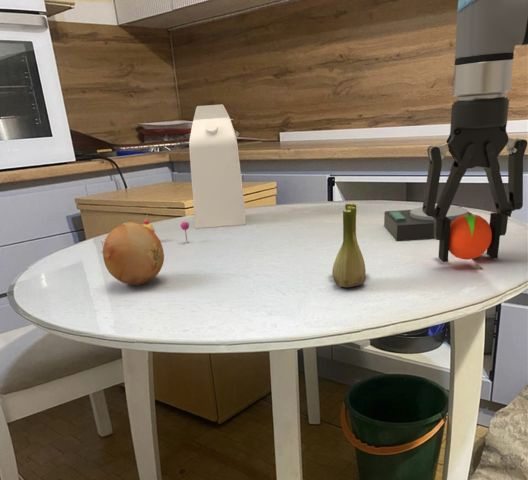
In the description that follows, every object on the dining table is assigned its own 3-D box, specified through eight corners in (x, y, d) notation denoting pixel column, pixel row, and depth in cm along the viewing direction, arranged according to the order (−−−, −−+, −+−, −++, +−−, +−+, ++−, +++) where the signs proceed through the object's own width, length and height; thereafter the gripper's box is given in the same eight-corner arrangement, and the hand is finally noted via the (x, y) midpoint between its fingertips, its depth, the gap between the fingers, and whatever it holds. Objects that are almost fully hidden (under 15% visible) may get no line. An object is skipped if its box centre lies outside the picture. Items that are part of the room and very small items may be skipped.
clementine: (494, 266, 80) (499, 218, 77) (445, 267, 82) (448, 220, 79) (486, 252, 87) (490, 208, 84) (441, 253, 89) (444, 210, 86)
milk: (245, 215, 136) (236, 103, 125) (245, 224, 126) (236, 103, 115) (199, 218, 136) (185, 107, 125) (195, 228, 126) (180, 107, 115)
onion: (152, 293, 83) (142, 229, 79) (97, 292, 86) (84, 230, 82) (178, 274, 92) (169, 216, 87) (126, 273, 94) (116, 216, 90)
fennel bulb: (351, 293, 77) (351, 209, 72) (323, 287, 80) (322, 206, 75) (373, 282, 81) (374, 202, 76) (346, 277, 84) (346, 199, 79)
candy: (104, 255, 108) (98, 225, 105) (102, 247, 114) (96, 218, 112) (191, 242, 112) (188, 213, 110) (184, 235, 119) (180, 207, 117)
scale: (459, 220, 114) (460, 202, 113) (481, 235, 102) (483, 215, 100) (384, 225, 115) (384, 207, 114) (396, 240, 103) (397, 221, 101)
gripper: (541, 91, 77) (522, 247, 87) (403, 103, 79) (399, 256, 88) (566, 90, 71) (542, 259, 80) (414, 104, 72) (409, 269, 81)
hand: (467, 257), depth 84 cm, fingers closed on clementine, 7 cm apart
